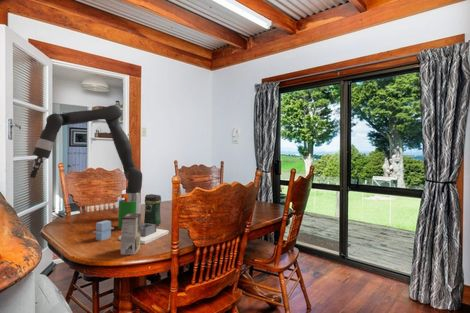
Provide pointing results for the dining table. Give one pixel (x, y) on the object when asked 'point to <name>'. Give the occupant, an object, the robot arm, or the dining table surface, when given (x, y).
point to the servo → (103, 230)
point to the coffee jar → (152, 209)
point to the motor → (125, 208)
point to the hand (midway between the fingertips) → (32, 177)
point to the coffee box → (130, 233)
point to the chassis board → (150, 233)
